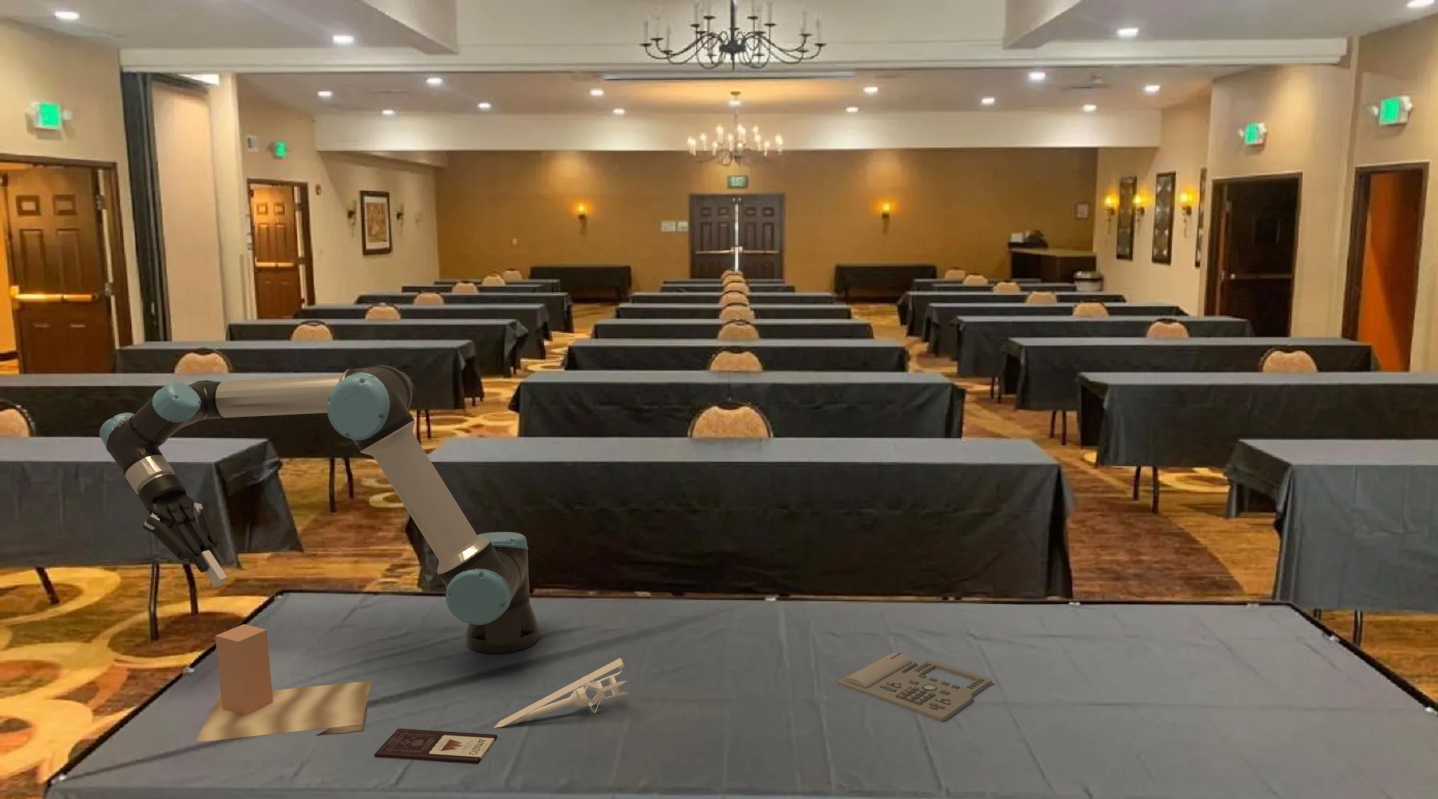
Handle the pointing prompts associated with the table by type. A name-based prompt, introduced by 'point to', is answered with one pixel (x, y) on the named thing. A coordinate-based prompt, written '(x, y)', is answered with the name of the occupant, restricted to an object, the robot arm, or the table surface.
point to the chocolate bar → (436, 746)
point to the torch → (572, 695)
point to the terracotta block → (244, 669)
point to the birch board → (294, 713)
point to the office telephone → (915, 686)
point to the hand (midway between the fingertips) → (220, 582)
